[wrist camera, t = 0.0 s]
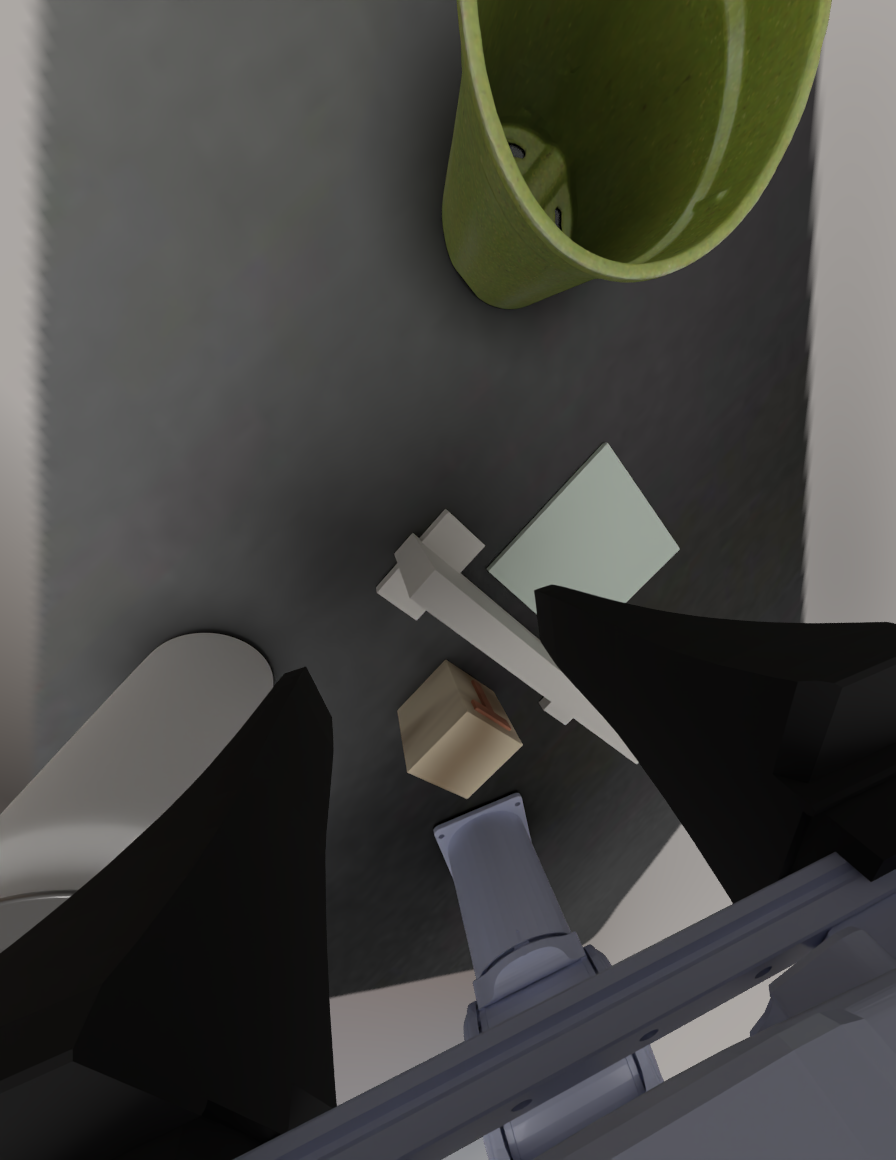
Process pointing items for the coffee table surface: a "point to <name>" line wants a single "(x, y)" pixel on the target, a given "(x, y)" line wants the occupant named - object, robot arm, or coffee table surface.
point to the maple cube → (455, 731)
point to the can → (123, 770)
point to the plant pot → (616, 134)
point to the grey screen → (483, 619)
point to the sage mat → (588, 537)
